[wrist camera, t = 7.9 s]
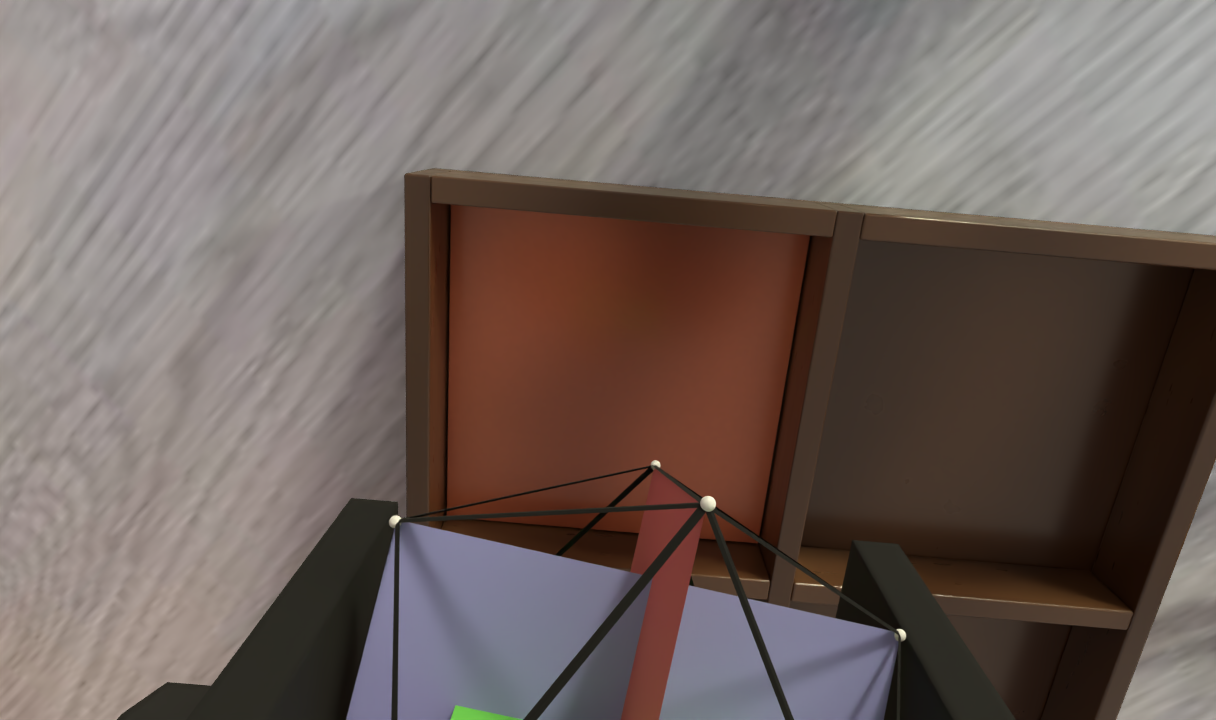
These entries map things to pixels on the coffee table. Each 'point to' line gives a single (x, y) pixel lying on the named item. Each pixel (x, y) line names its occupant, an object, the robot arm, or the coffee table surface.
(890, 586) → the robot arm
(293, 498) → the coffee table surface
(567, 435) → the sorting tray
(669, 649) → the geometric puzzle
